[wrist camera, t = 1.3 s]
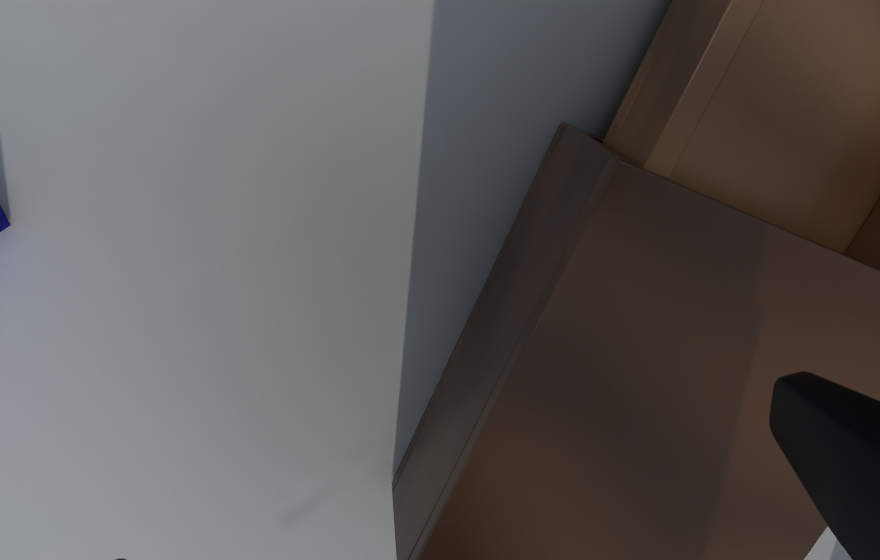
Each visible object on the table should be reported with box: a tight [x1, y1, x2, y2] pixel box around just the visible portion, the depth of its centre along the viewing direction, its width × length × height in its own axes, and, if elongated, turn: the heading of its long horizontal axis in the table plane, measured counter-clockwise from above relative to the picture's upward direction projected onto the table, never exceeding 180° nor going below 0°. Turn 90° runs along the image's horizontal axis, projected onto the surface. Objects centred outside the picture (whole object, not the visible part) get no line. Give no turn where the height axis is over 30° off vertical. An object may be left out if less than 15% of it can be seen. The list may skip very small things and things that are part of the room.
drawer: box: [602, 0, 880, 269], centre depth 20 cm, size 17×10×4 cm, turn 157°
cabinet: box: [392, 122, 880, 560], centre depth 23 cm, size 14×12×5 cm
